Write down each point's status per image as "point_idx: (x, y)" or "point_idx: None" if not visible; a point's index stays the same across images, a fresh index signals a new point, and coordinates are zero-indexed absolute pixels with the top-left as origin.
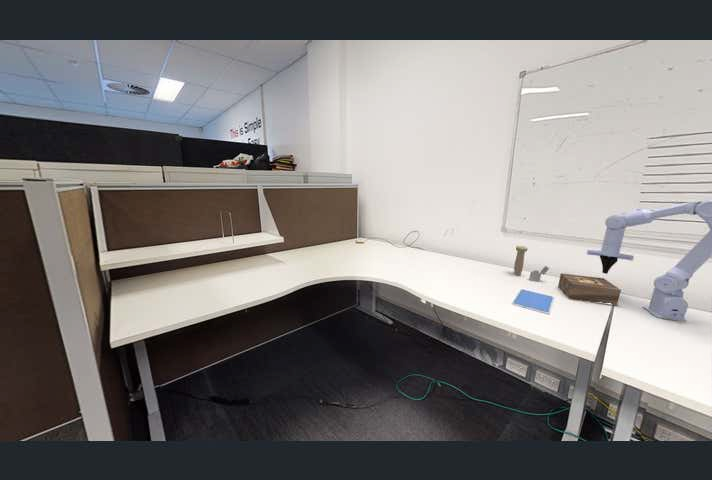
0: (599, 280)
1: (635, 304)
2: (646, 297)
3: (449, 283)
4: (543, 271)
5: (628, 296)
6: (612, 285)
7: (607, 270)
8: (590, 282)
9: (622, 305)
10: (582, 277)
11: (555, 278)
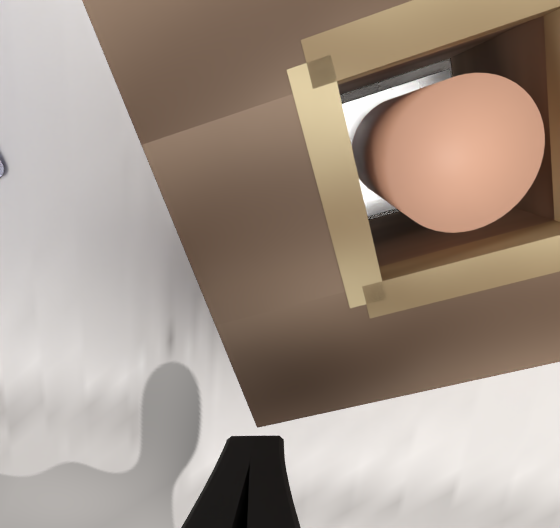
0: (312, 299)
1: (50, 208)
2: (12, 423)
3: None
4: None
5: (101, 371)
6: (175, 157)
7: (225, 483)
8: (452, 91)
9: None
10: (508, 293)
11: (547, 459)
